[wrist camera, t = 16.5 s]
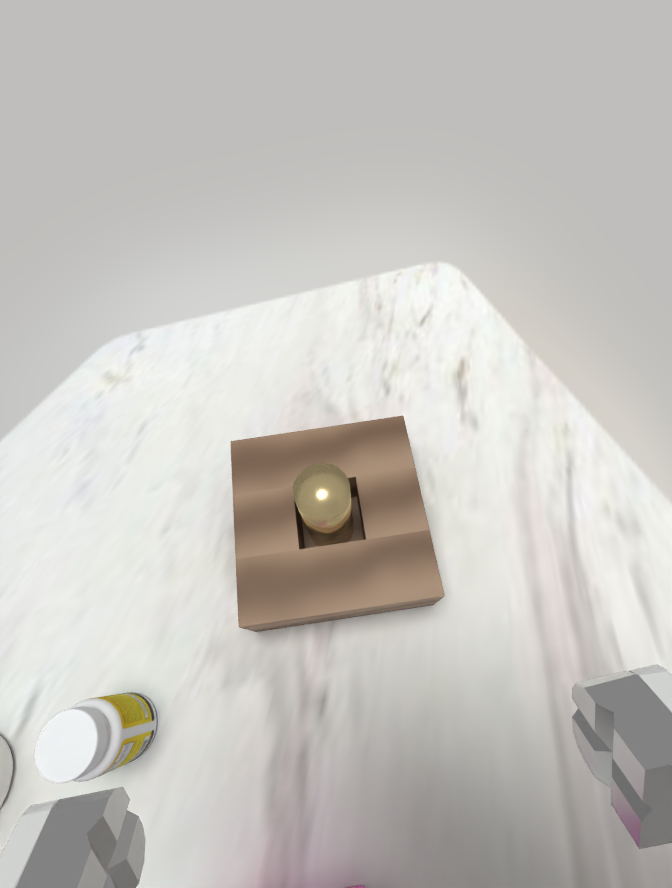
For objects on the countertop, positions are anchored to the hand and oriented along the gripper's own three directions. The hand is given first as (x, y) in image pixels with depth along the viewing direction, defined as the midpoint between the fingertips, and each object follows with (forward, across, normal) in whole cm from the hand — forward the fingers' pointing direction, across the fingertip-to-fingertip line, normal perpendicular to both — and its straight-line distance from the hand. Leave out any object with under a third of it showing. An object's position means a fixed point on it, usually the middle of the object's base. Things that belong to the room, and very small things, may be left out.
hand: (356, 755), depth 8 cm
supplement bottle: (+23, +19, +22) cm, 37 cm away
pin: (+30, 0, +13) cm, 33 cm away
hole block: (+31, 0, +14) cm, 34 cm away
